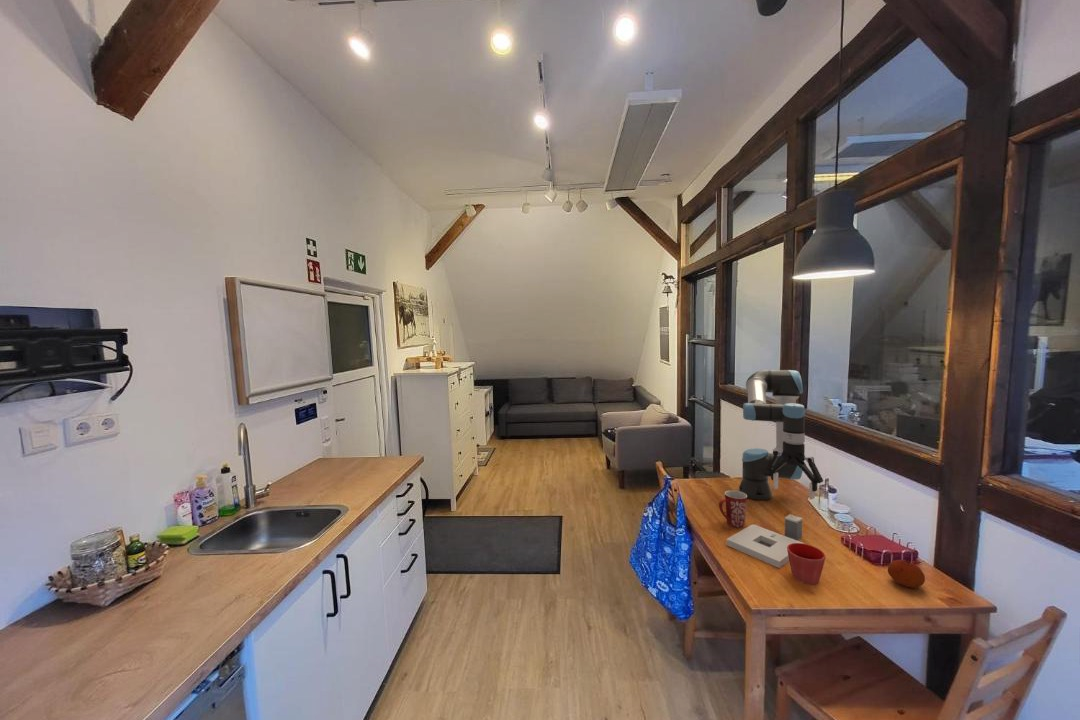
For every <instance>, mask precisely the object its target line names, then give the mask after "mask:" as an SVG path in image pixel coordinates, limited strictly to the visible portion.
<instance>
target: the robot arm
mask: <svg viewBox="0 0 1080 720" xmlns="http://www.w3.org/2000/svg"><path fill="white" fill-rule="evenodd" d="M803 388H804V387H803V382H802V377H801V374H800V372H799V371H798V370H793V369H763V370H762V369H761V370H759V371H756V372H754V373H752V374H751V375H750V376H749V377H748V378H747V379H746V382H745V390H746V391H747V402H744V403H743V406H742V417H743V419H744V420H746V421H752V422H753V421H755V422H756V421H757V422H761V421H762V422H773V423H774V422H775V427H776V428H775V433H776V434H775V438H776V439H775V441H776V442H775V444H776V447H774V448H773V449H772V452H771V453H769V450H767V449H764V448H750V449H745V450H743V452H742V458H741V461H742V473H741V474H742V476H741V477H742V479H741V482H740V484H739V486H738V491H740V492H743V493H745V494H746V495H747V499H750V500H754V501H767V500H770V499H772V497H773V492H772V489H771V486H770V483H769V477H770V479H771V481H772V484H773V485H772V486H773V487H772V488H773V490H777V489H778V488H779V479H787V480H797V481H798V480H800V479H801V478H802V477H803V473H804V475H805V476H807V479H808V480H810V481H809V496H808V497H809V500H814V499H815V494H816V493H815V492H817V491H818V484H821V483H823V482H824V480H823V478H822V475H821V473H820V471H819V469H818V467H817V465H816V463H815V458H814V457H813V456H806V454H805V453H806V452H805V449H806V447H805V439H806V438H805V435H806V434H805V432H806V431H805V428H806V427H805V421H806V418H805V417H806V410H805V406H804V405H803V404H801V403H797V402H796V401H797V400H798V399H799V398H800V395H801V394H803V392H804V389H803ZM766 393H768V394H769V393H771V394H772V395H771V396H772V397H773V399H774V400H775V403H767V394H766ZM805 461H806V462H805ZM806 463H807V464H808V466H809V467H808V466H807V464H806Z"/></svg>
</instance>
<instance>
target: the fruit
mask: <svg viewBox="0 0 1080 720" xmlns="http://www.w3.org/2000/svg"><path fill="white" fill-rule="evenodd" d="M887 574H888V575H889V576H890V577H891V579H893V580H894V581H895V582H896V583H898V584H900V585H901V586H903V587H906V588H910V589H911V588H913V589H914V588H919V587H922V586H924V584H925V582H926V578H925V576H926V575H925V573H924V572H923V570H922V569H921V568H920V567H919V566H918V565H916V564H915V563H913V562H912V561H909V560H906V559H895V560H892V561H891V562H890V563H889V564H888V566H887Z"/></svg>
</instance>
